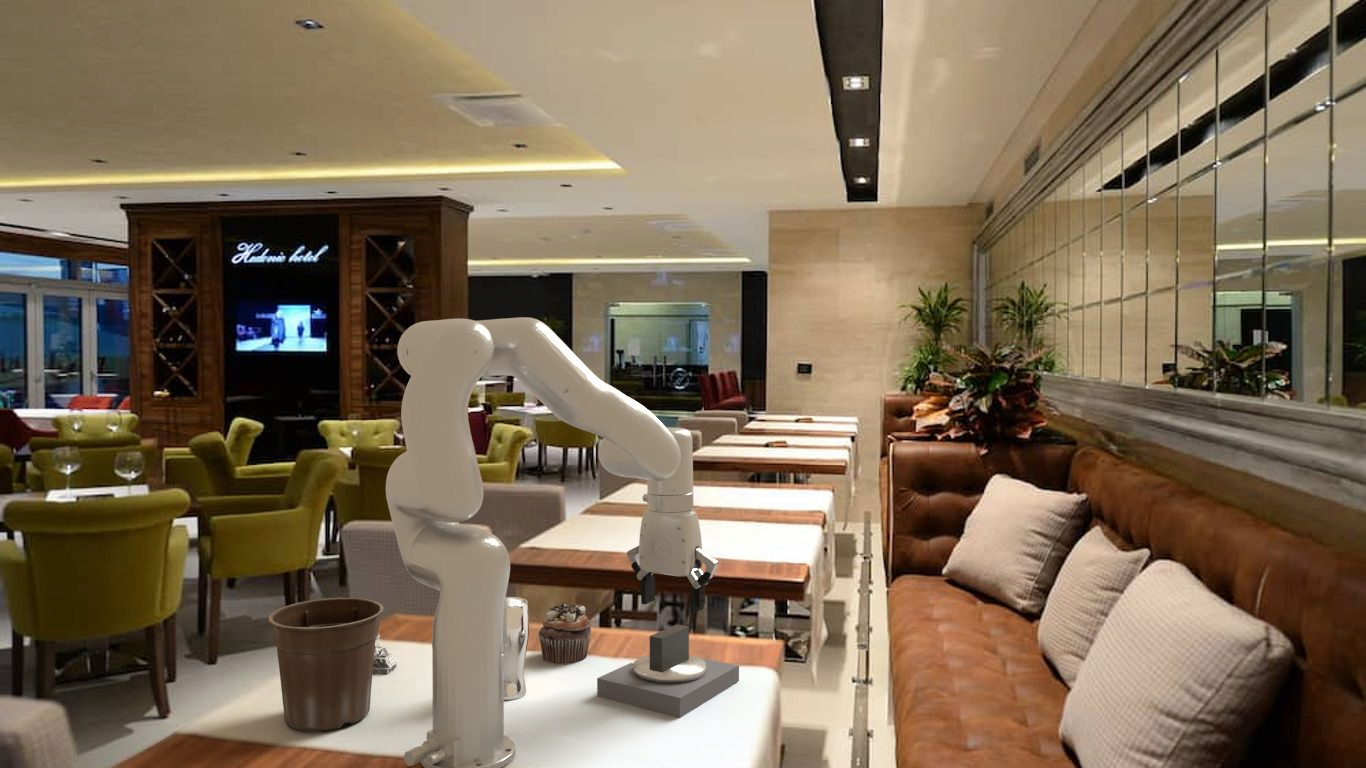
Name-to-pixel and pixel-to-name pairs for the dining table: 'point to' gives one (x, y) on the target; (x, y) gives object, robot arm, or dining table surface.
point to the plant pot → (326, 660)
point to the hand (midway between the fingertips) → (672, 606)
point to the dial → (670, 658)
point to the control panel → (667, 688)
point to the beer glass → (515, 646)
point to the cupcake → (565, 634)
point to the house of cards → (382, 659)
